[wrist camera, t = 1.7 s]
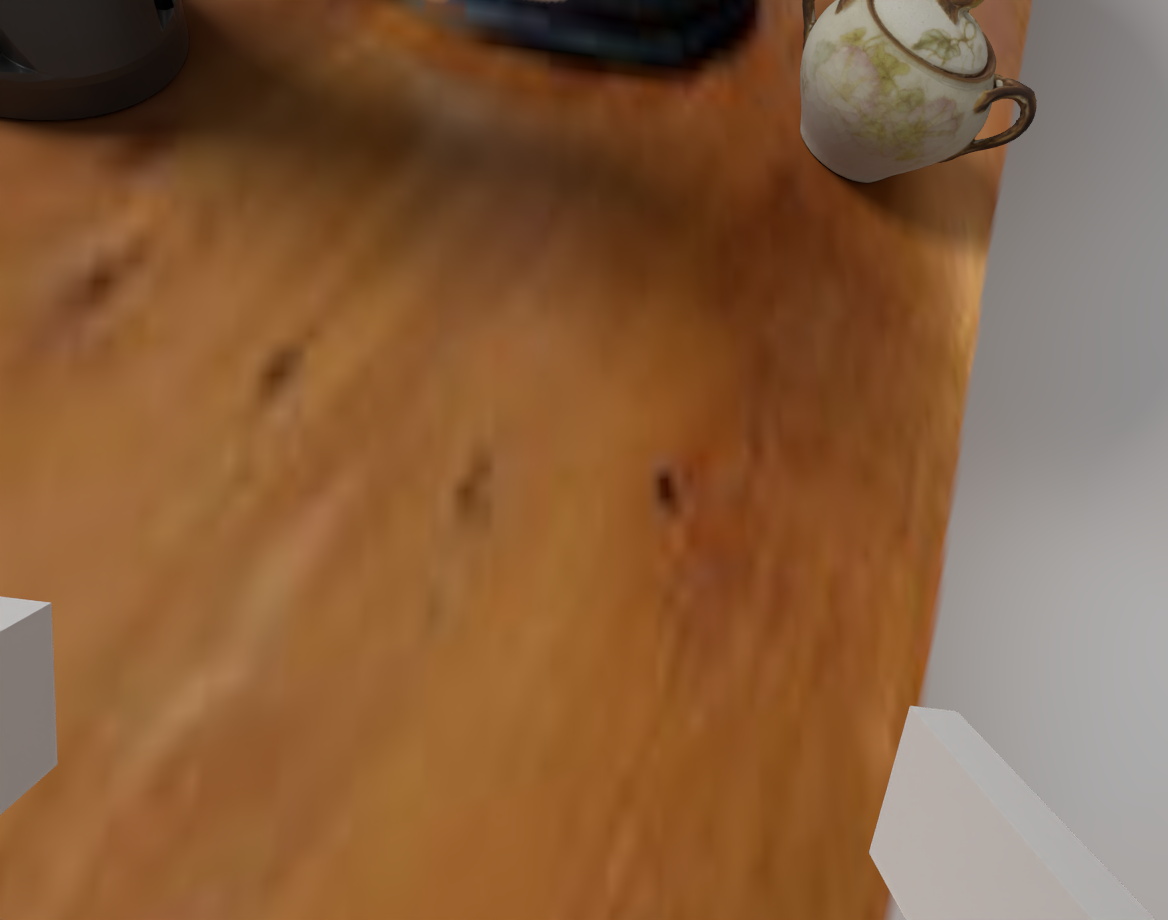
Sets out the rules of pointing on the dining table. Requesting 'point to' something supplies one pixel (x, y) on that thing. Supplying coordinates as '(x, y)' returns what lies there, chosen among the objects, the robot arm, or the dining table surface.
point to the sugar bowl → (899, 86)
